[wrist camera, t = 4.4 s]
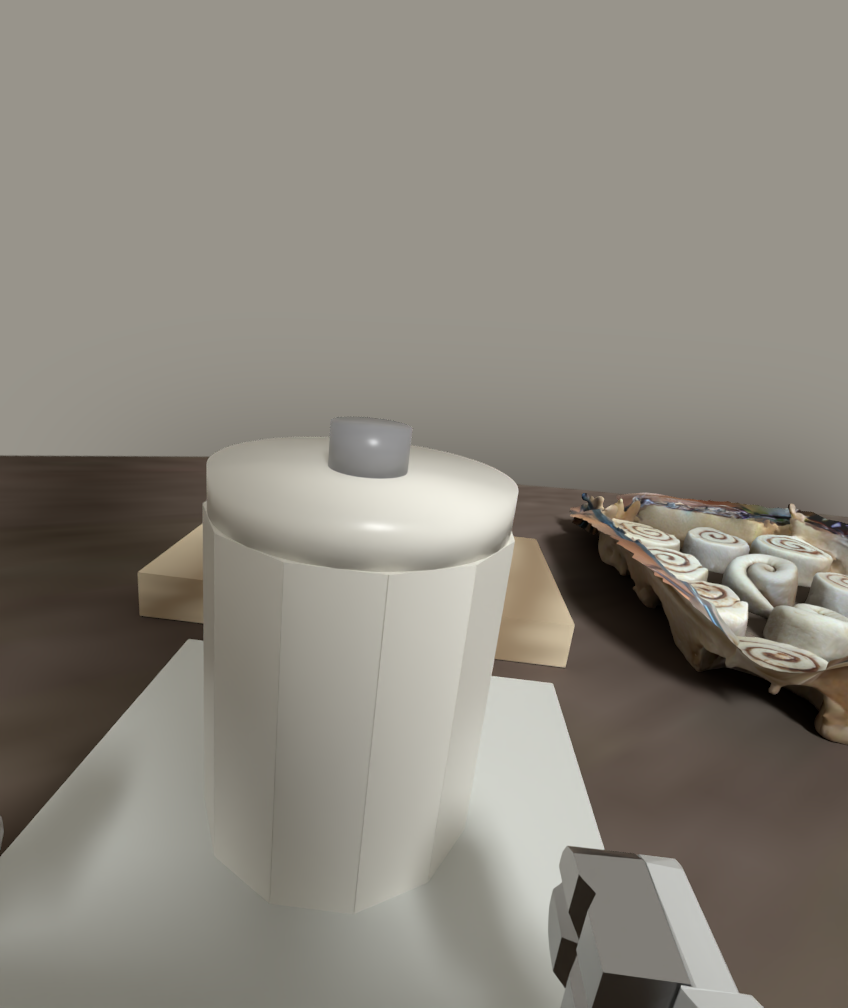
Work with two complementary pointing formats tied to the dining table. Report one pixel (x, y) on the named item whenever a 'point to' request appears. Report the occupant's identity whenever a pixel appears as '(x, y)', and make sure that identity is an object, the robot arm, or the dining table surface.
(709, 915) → the dining table surface
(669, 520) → the baking tray
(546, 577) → the maple board
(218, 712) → the lidded storage canister
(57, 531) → the dining table surface
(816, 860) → the dining table surface
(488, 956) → the rubber mat
